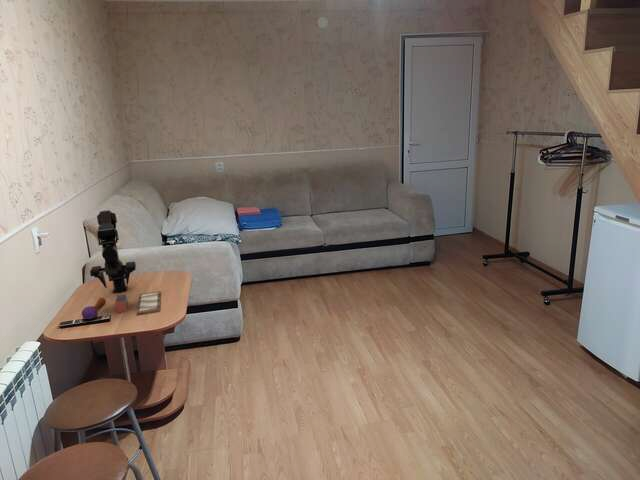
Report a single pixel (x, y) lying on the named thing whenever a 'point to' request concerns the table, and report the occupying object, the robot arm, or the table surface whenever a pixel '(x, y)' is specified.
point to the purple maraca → (92, 309)
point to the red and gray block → (121, 303)
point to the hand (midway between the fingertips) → (116, 286)
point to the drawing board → (149, 303)
